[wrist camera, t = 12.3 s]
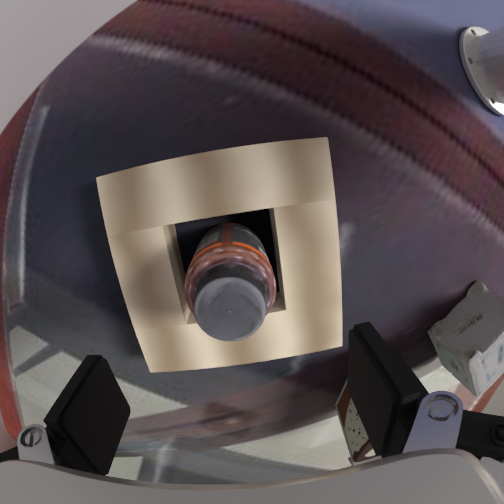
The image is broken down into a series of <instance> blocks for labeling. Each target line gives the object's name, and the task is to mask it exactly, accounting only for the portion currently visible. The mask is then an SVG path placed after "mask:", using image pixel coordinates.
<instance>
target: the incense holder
mask: <svg viewBox="0 0 504 504" xmlns="http://www.w3.org/2000/svg"><path fill="white" fill-rule="evenodd" d="M427 333H428V334H429V337H430V339H431V341H432V343H433V345H434V347H435V349H436V352H437V355H438V357H439V359H440V362H441V364H442V365H443V366H444V367H445V368H446V369H447V370H448V371H449V372H451V373H452V375H453V376H454V377H455V378H456V379H458V380H459V381H460V382H461V383H462V384H463V385H464V386H465V387H466V388H467V389H468V390H469V391H470V392H471V393H472V394H473V395H475V396H476V397H479V396H481V395H482V394H483V393H484V392H485V391H486V390H487V389H488V388H489V387H490V386H491V385H492V384H493V383H494V382H495V381H496V380H497V379H498V378H499V377H500V376H501V375H502V374H503V373H504V298H503V297H501V296H498V295H497V294H495V293H492V292H491V291H490V290H488V289H487V288H486V286H485V285H484V284H483V283H482V282H480V281H476V282H475V283H474V284H473V285H472V286H471V287H470V289H469V290H468V292H467V295H466V297H465V298H464V299H463V300H462V301H461V302H459V303H458V304H457V305H456V306H455V307H454V308H453V309H452V311H451V312H450V313H449V314H448V315H447V316H446V317H445V318H444V319H442V320H441V321H437V322H436V323H435V324H434V325H433V326H432V327H431V328H430V329H429V330H428V332H427Z"/></svg>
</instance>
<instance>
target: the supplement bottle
mask: <svg viewBox="0 0 504 504" xmlns="http://www.w3.org/2000/svg"><path fill="white" fill-rule="evenodd" d="M184 294H185V299H186V303H187V305H188V307H189V309H190V311H191V312H192V313H193V315H194V316H195V319H196V321H197V324H198V325H199V326H200V328H201V329H202V330H203V331H204V332H205V333H206V334H208V335H209V336H211V337H213V338H215V339H218V340H222V341H238V340H243V339H245V338H248V337H249V336H251V335H253V334H254V333H255V332H256V331H257V330H258V329H259V328H260V326H261V325H262V324H263V321H264V318H265V316H266V315H267V314H268V313H269V311H270V309H271V308H272V305H273V303H274V300H275V296H276V281H275V276H274V273H273V269H272V267H271V265H270V262H269V260H268V257H267V254H266V251H265V249H264V247H263V244H262V242H261V240H260V239H259V237H258V236H257V235H256V233H255V232H253V231H252V230H251V229H250V228H248V227H246V226H244V225H242V224H237V223H223V224H220V225H217V226H215V227H213V228H212V229H210V230H209V231H208V232H207V233H206V234H205V235H204V236H203V238H202V239H201V241H200V243H199V245H198V247H197V249H196V252H195V254H194V256H193V259H192V261H191V263H190V265H189V268H188V270H187V273H186V277H185V281H184Z"/></svg>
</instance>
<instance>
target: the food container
mask: <svg viewBox="0 0 504 504" xmlns="http://www.w3.org/2000/svg"><path fill="white" fill-rule="evenodd" d="M335 407H336V410H337V413H338V417H339V420H340V423H341V426H342V430H343V433H344V436H345V439H346V443H347V446H348V449H349V453H350V456H351V457H349V458H348V460H349V461H350V463H351V465H352V466H354V465H358V464H362V463H366V462H370V461H374V460H378V459H381V458H382V457H381V456H376V454H375V452H374V450H373V447H372V445H371V443H370V440H369V438H368V436H367V433H366V431H365V428H364V426H363V424H362V421H361V419H360V417H359V415H358V412H357V410H356V408H355V405H354V403H353V401H352V398H351V396H350V394H349V391H348V387H347V380H346V382H345V385H344V387H343V389H342V391H341V393H340V396H339V398H338V400H337V402H336V404H335Z"/></svg>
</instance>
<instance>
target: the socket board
mask: <svg viewBox="0 0 504 504" xmlns="http://www.w3.org/2000/svg"><path fill="white" fill-rule="evenodd" d="M96 180H97V187H98V192H99V198H100V203H101V208H102V213H103V218H104V223H105V228H106V232H107V236H108V241H109V245H110V249H111V253H112V257H113V261H114V265H115V268H116V272H117V276H118V279H119V283H120V286H121V290H122V293H123V296H124V300H125V303H126V306H127V309H128V312H129V315H130V318H131V321H132V324H133V327H134V330H135V333H136V336H137V338H138V341H139V344H140V347H141V349H142V352H143V355H144V357H145V360H146V362H147V365H148V367H149V370H150V372H169V371H183V370H195V369H205V368H215V367H224V366H232V365H240V364H247V363H254V362H261V361H267V360H273V359H279V358H285V357H291V356H296V355H302V354H307V353H312V352H317V351H322V350H326V349H331V348H335V347H340V346H342V290H341V267H340V249H339V235H338V222H337V211H336V201H335V191H334V182H333V173H332V165H331V158H330V150H329V143H328V137H322V138H309V139H298V140H288V141H278V142H270V143H262V144H254V145H247V146H240V147H233V148H227V149H221V150H215V151H209V152H203V153H198V154H193V155H188V156H183V157H178V158H173V159H168V160H163V161H159V162H155V163H150V164H146V165H142V166H138V167H134V168H130V169H126V170H122V171H118V172H114V173H111V174H107V175H103V176H100V177H96ZM267 208H269V214H270V221H271V228H272V236H273V243H274V251H275V259H276V267H277V275H278V283H279V291H278V292H276V296H275V300H274V303H273V305H272V308H271V309H270V311H269V313H268V314H267V315H266V316H265V318H264V321H263V324H262V325H261V326H260V328H259V329H258V330H257V331H256V332H255V333H254V334H253V335H251V336H249V337H248V338H245V339H243V340H238V341H222V340H218V339H215V338H213V337H211V336H209V335H208V334H206V333H205V332H204V331H203V330H202V329H201V328H200V326H199V325H198V324H197V321H196V319H195V316H194V315H193V313H192V312H191V311H190V309H189V307H188V305H187V303H186V299H185V294H184V281H185V277H186V276H185V272H184V267H183V263H182V258H181V254H180V249H179V244H178V239H177V234H176V229H175V223H181V222H186V221H192V220H198V219H204V218H210V217H216V216H222V215H228V214H235V213H241V212H247V211H254V210H261V209H267Z"/></svg>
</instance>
